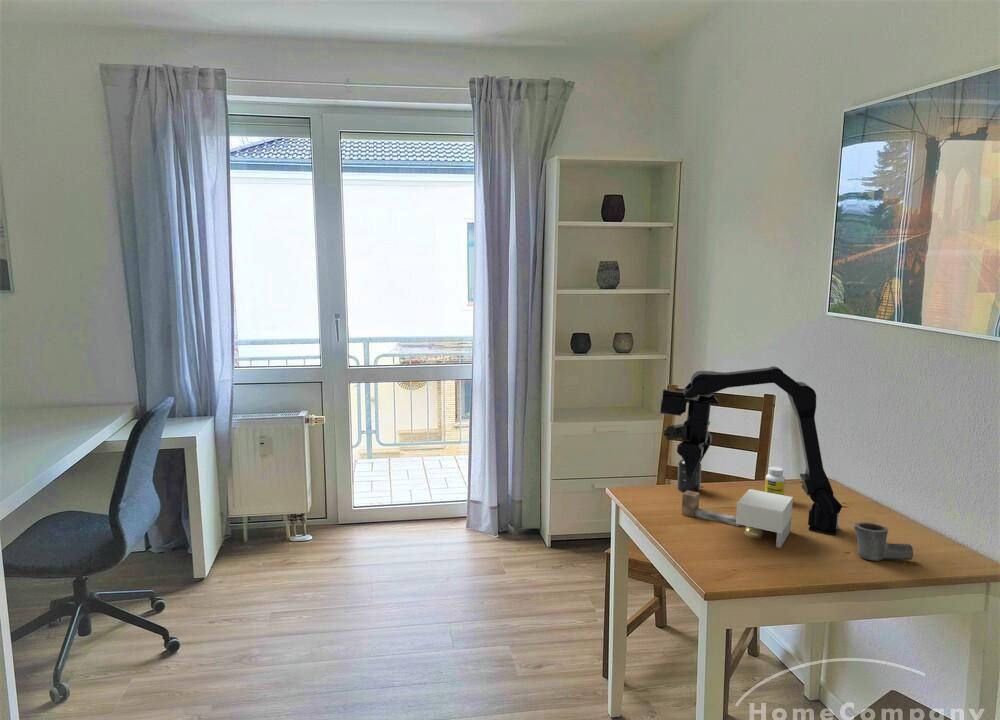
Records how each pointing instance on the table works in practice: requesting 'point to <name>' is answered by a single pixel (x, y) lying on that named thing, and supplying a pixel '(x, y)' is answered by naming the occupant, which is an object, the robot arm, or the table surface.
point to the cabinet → (766, 513)
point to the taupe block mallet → (692, 509)
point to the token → (753, 532)
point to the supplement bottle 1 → (688, 478)
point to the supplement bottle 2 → (775, 481)
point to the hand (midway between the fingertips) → (691, 472)
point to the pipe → (879, 544)
